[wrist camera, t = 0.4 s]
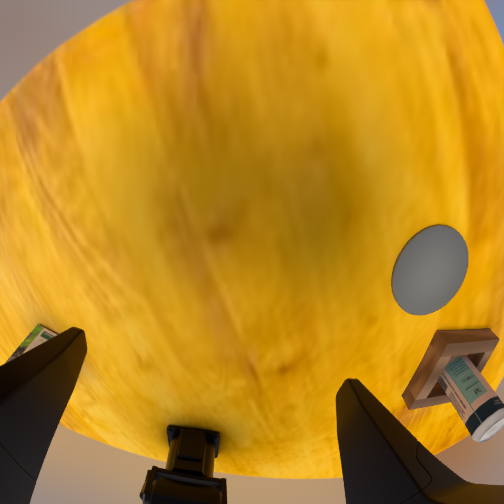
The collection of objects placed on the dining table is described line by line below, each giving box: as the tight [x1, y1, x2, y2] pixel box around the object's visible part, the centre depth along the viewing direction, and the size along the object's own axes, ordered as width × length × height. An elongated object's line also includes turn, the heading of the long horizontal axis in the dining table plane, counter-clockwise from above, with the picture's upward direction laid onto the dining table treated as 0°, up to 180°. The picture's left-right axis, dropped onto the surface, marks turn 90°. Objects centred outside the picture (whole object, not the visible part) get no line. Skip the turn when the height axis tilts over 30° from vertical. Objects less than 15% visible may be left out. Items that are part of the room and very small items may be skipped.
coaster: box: [392, 225, 468, 315], centre depth 24 cm, size 9×9×1 cm
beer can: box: [438, 355, 504, 443], centre depth 23 cm, size 5×5×12 cm
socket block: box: [402, 328, 499, 410], centre depth 27 cm, size 10×10×2 cm
